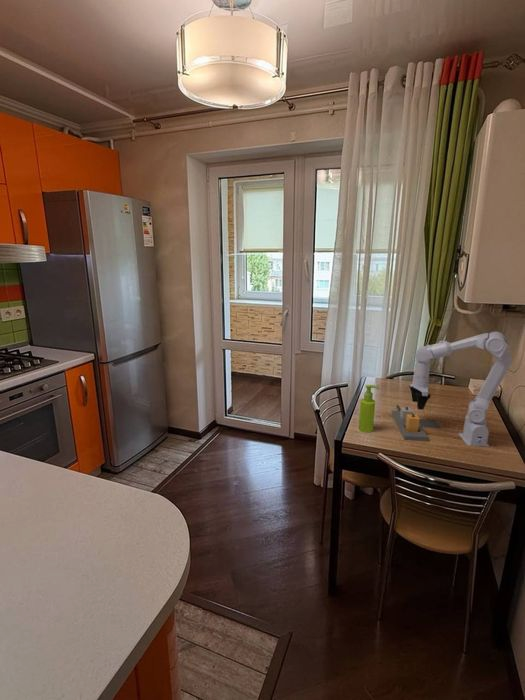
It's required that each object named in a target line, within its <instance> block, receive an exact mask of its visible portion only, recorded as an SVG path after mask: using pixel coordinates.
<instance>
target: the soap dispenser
mask: <svg viewBox="0 0 525 700" xmlns="http://www.w3.org/2000/svg"><path fill="white" fill-rule="evenodd" d="M365 388H366V391H365V392H364V394H363V398H361V399H360V405H359V419H358V430H359V431H360V432H363V433H366V434H367V433H372V432H373V431H374V421H375V412H376V411H375V408H376V401H375V400H374V399H373V392H372V389H377V390H378V389H380V386H379V385H375V384H365Z"/></svg>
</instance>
